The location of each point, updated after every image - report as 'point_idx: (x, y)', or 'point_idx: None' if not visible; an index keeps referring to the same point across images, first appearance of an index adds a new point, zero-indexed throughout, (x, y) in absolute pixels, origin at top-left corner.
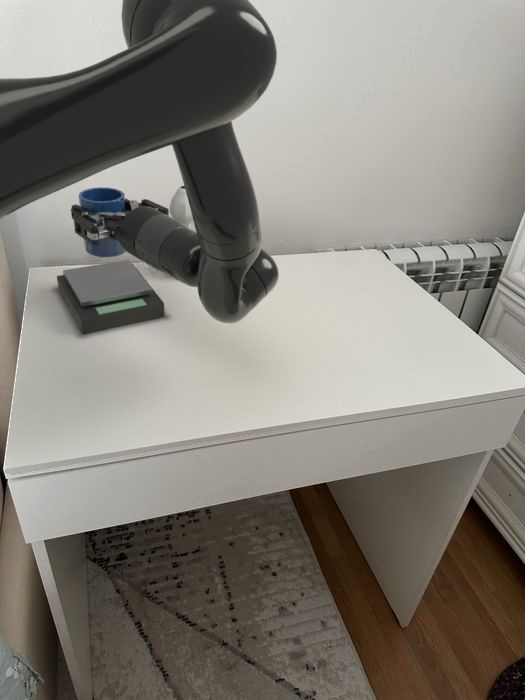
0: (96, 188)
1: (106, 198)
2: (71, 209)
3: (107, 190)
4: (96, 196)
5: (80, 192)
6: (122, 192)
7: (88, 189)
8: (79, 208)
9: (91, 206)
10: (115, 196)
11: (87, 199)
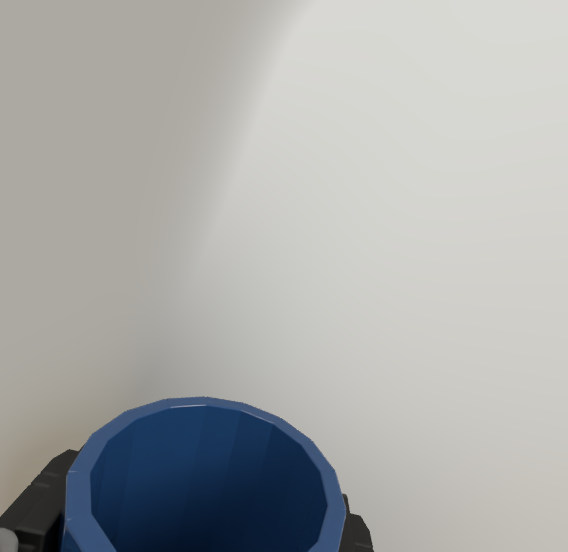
0: (259, 415)
1: (280, 481)
2: (62, 455)
3: (296, 451)
4: (246, 447)
5: (168, 399)
6: (338, 526)
7: (222, 402)
8: (61, 479)
9: (61, 524)
10: (312, 506)
11: (196, 441)
